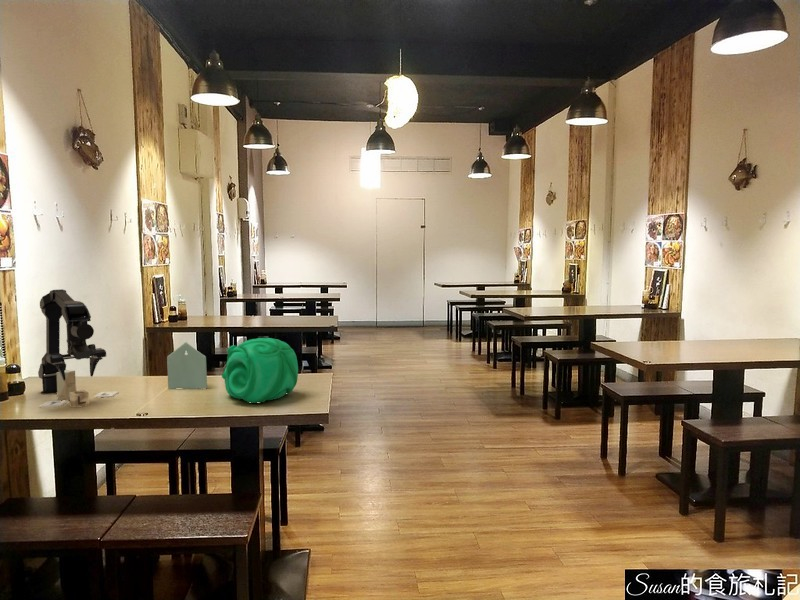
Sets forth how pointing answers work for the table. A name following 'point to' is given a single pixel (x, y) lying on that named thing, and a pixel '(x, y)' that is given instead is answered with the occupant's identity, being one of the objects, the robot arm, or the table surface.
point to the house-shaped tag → (186, 368)
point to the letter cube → (79, 398)
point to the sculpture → (260, 370)
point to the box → (66, 385)
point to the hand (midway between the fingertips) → (78, 378)
